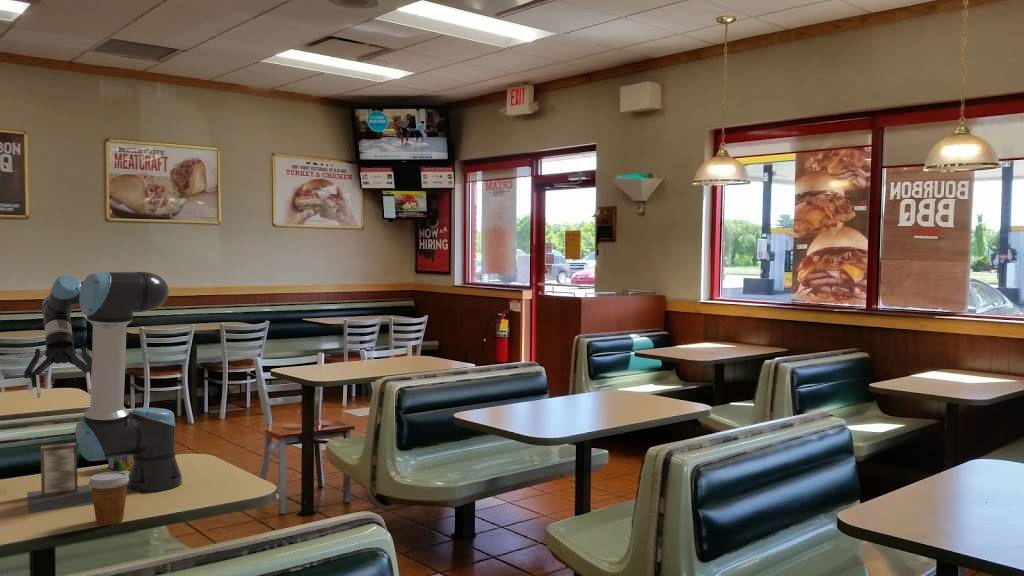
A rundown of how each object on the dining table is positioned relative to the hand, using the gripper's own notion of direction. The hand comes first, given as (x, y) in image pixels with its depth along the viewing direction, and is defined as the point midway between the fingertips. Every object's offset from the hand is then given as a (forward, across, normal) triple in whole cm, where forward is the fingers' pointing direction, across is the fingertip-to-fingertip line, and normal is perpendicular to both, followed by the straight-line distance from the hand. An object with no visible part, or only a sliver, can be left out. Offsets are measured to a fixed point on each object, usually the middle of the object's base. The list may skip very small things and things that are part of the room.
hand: (64, 393), depth 250 cm
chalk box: (+13, -19, -26) cm, 35 cm away
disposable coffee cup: (+51, -6, +14) cm, 53 cm away
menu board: (+28, +3, -10) cm, 30 cm away
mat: (+31, +3, -6) cm, 32 cm away
